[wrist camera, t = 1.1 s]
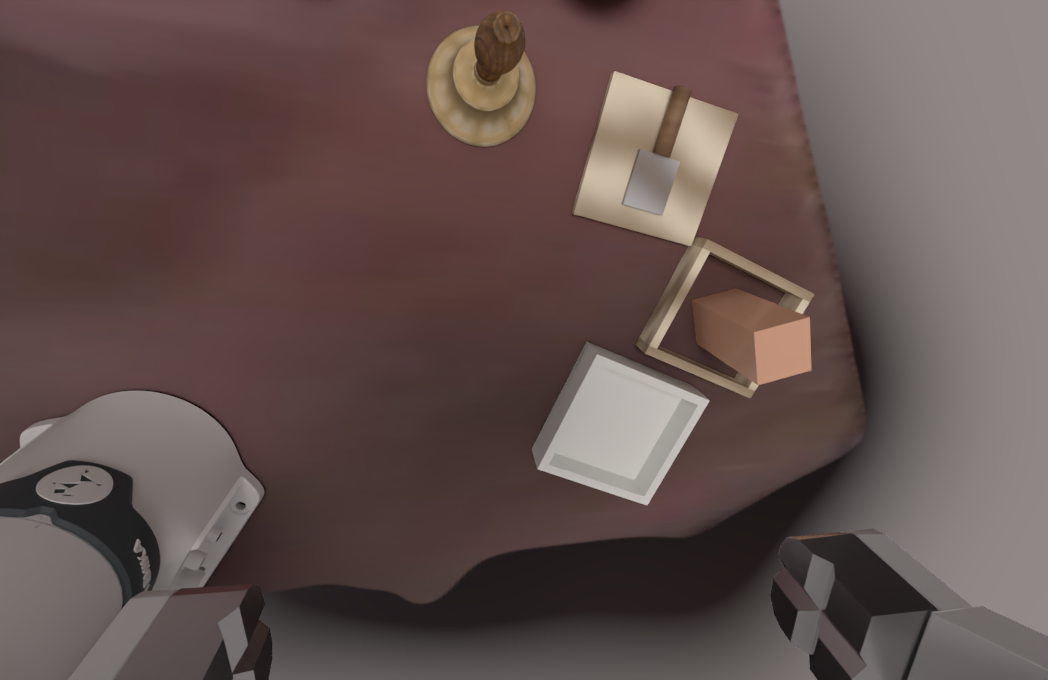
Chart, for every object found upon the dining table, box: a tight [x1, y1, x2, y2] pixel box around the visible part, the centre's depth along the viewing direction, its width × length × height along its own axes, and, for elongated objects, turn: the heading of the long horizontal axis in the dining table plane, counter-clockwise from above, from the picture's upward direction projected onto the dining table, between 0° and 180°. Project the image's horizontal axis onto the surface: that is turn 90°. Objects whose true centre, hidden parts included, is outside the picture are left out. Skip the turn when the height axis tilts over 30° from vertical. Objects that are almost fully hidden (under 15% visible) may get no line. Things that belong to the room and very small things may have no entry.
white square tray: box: [532, 341, 710, 505], centre depth 47 cm, size 12×12×4 cm
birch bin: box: [635, 236, 814, 398], centre depth 45 cm, size 11×12×2 cm
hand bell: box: [427, 11, 536, 147], centre depth 30 cm, size 8×8×16 cm
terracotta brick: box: [691, 288, 811, 385], centre depth 42 cm, size 4×4×10 cm
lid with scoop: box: [572, 71, 738, 246], centre depth 40 cm, size 11×11×2 cm
